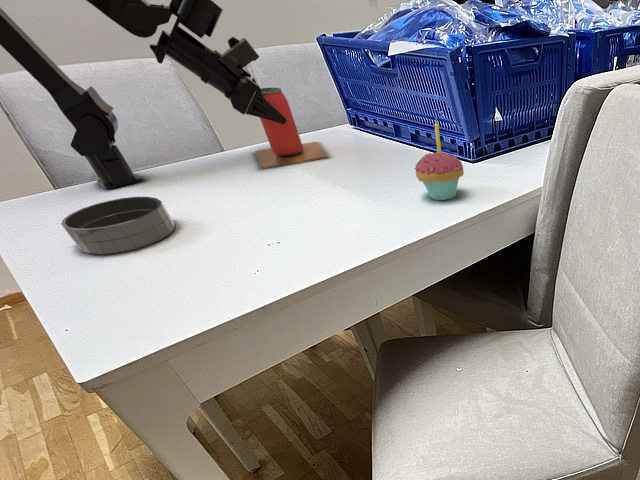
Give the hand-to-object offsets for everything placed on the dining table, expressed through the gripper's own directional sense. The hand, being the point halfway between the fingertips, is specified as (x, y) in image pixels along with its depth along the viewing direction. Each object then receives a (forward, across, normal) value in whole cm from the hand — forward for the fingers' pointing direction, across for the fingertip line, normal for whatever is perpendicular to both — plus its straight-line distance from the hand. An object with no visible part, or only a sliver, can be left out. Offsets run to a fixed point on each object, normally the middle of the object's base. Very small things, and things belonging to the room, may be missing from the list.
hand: (283, 118), depth 98 cm
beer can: (+4, 0, +6) cm, 7 cm away
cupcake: (+19, -43, -9) cm, 48 cm away
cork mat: (+4, 0, +6) cm, 7 cm away
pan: (-16, -33, +27) cm, 45 cm away
